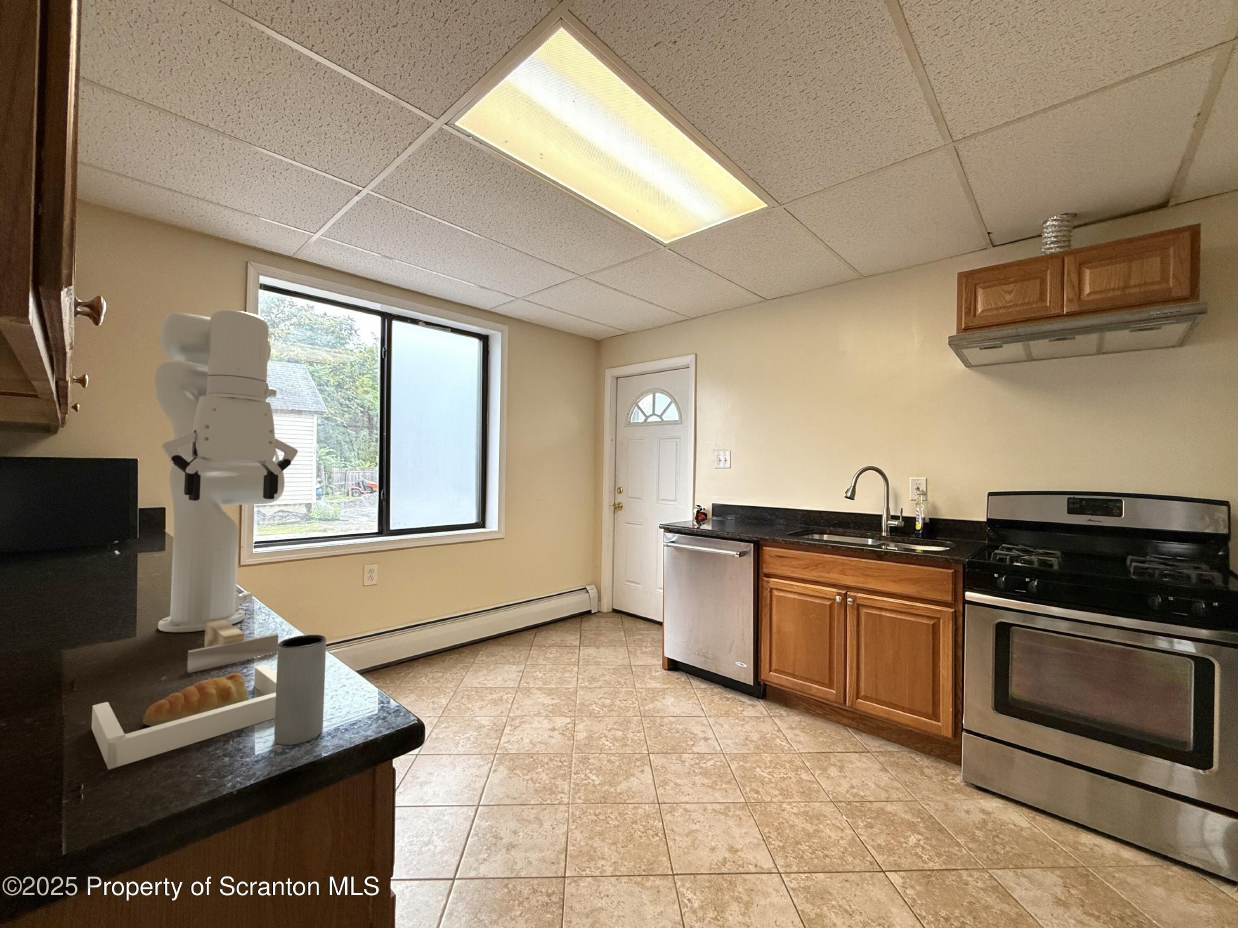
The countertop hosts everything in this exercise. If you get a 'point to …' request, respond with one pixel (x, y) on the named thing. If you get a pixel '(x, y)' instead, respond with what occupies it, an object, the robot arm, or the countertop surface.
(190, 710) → the pastry
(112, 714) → the frame
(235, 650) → the dough scraper
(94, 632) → the countertop surface
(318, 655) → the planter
